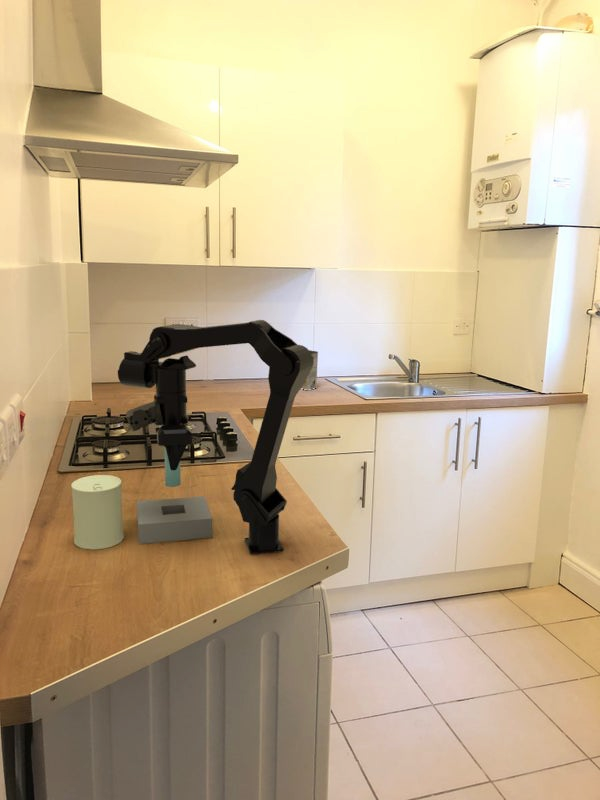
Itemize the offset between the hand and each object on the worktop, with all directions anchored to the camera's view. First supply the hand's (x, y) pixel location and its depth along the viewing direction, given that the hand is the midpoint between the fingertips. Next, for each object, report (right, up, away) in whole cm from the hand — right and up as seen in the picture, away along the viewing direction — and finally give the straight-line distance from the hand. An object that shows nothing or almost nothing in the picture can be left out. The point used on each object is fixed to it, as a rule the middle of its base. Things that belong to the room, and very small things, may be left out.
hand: (172, 467), depth 127 cm
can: (-14, -14, -3) cm, 20 cm away
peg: (0, -3, +1) cm, 4 cm away
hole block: (0, -13, +3) cm, 13 cm away
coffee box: (+27, +18, +143) cm, 146 cm away
